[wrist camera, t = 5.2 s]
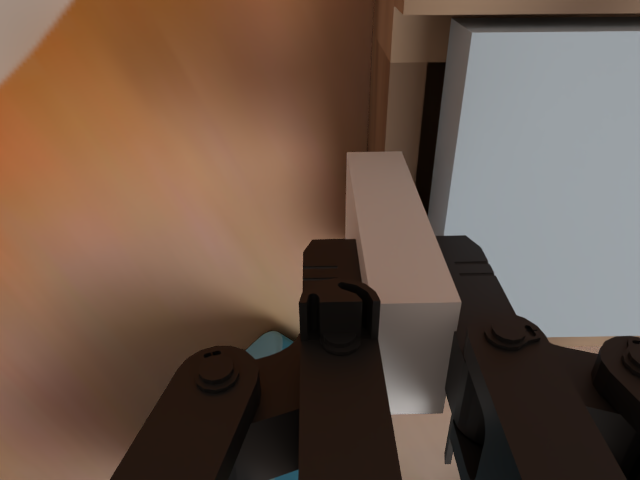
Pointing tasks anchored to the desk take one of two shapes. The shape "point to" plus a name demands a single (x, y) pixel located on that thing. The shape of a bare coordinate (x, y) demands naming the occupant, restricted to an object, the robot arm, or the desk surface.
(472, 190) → the cover plate
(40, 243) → the desk surface
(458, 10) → the pencil box
